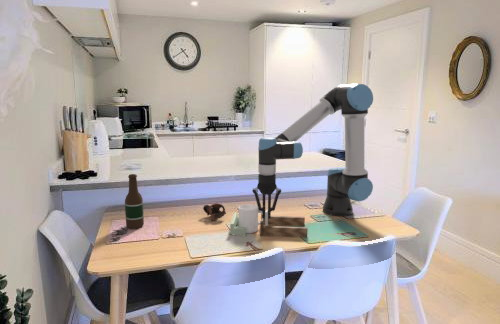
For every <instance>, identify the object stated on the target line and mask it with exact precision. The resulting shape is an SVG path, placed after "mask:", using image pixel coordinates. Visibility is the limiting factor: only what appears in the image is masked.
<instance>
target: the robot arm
mask: <svg viewBox="0 0 500 324" xmlns="http://www.w3.org/2000/svg"><path fill="white" fill-rule="evenodd" d="M373 102H374V95H373V91H372V89H371V88H370V87H369V86H368V85H367V84H364V83H358V82H357V83H344V84H339V85H337V86H335V87H334V88H332V89H331V90H330V91H328V92H327V93H326V94H324V95H323V96H322V97H321V98H320V99H319V102H318V103H317V104H316V105H314V106H313V107H312V108H311V109H309V110H308V111H307V112H306V113H304V114H303V115H301V117H299V118H298V119H296V121H294V123H292V124H291V125H289V126H288V127H287V128H286V129H284V130H283V131H282V132H281V133H280V134H278V135H277V136H276V137H261V138H260V139H259V141H258V147H257V148H258V169H257V170H258V176H257V177H258V180H257V182H258V183H257V186H256V187H253V188H252V193H253V195H254V197H255V200H256V206H258V209H259V210H261V211H262V212H263V219H265V225H264V226H269V225H268V219H270V218H271V216H272V215H271V212H273V211H275V210H276V207H277V203H278V199H279V196H280V195H281V193H282V189H281V188H279V187H278V186H277V183H276V182H277V181H276V179H277V178H276V177H277V175H276V173H277V172H276V171H277V160H297V159H301V157H302V156H303V153H304V147H303V144H302V143H301V142H300V141H298V140H300V139H301V138H302V137H304V136H305V135H306V134H308V132H309V131H311V130H312V129H313V128H314V127H316V126H317V125H318V124H319V123H320V122H322V121H323V120H324V119H325V118H327V117H328V116H329V115H334V114H335V113H336V112H338V111H340V112H341V116H342V117H343V118H344V133H345V134H344V144H345V145H344V151H345V152H344V153H345V155H344V156H345V159H344V160H345V163H344V164H345V167H331V168H329V169H328V170H327V175H326V177H327V182H326V184H327V186H326V187H327V188H326V197H325V200H324V203H323V204H322V212H323V213H325V214H327V215H330V216H335V217H347V216H351V215H352V214H353V211H354V210H353V208H354V207H353V204H352V201H355V202H363V201H366V200H367V199H368V198H369V197H370V196H371V195H372V192H373V189H374V188H373V187H374V184H373V182H372V180H370V178H369V171H368V170H367V169H366V168H365V118H366V116H368V114H369V109H370V108H371V106H372V105H373ZM259 192H260V193H261V194H262V205H261V200H260V197H259ZM274 192H275V196H274V199H273V203H272V195H273V193H274ZM266 195H267V197H268V198H267V209H266ZM271 203H272V205H271Z"/></svg>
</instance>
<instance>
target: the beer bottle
mask: <svg viewBox="0 0 500 324" xmlns="http://www.w3.org/2000/svg"><path fill="white" fill-rule="evenodd" d="M127 177H128V193H127V194H126V196H125V199H124V213H125V226H126V228H127V229H129V230H139V229H141V228H143V226H144V221H145V219H144V218H145V217H144V203H143V202H144V200H143V197H142V196H143V195H142V194H141V193H140V192H139V188H138V181H137V178H138V175H137V174H134V173H131V174H129V175H128V176H127Z"/></svg>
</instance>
